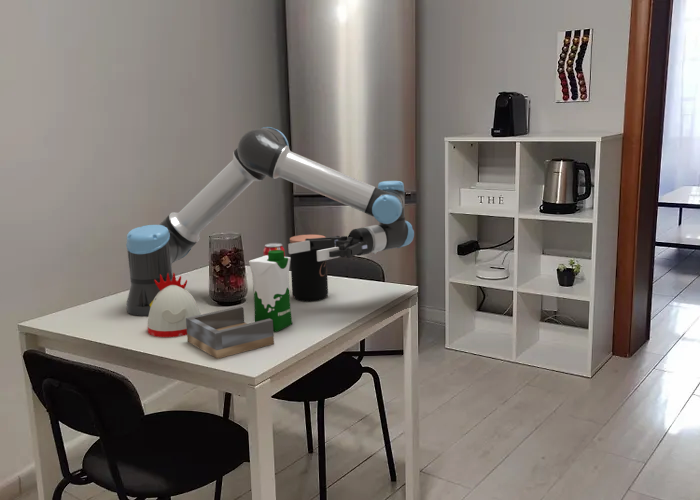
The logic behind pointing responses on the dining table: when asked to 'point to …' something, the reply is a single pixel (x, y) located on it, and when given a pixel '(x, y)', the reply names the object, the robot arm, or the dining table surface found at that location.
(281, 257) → the soya milk
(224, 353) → the dock
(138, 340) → the dining table surface
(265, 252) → the soda can
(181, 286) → the kitchen timer
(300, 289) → the coffee jar
